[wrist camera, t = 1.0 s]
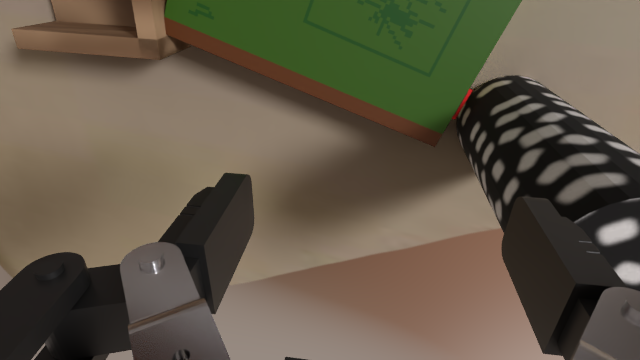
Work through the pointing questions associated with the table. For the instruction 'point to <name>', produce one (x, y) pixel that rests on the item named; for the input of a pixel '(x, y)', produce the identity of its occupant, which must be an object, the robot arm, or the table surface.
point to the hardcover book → (356, 50)
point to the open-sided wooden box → (103, 29)
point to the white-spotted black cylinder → (555, 165)
